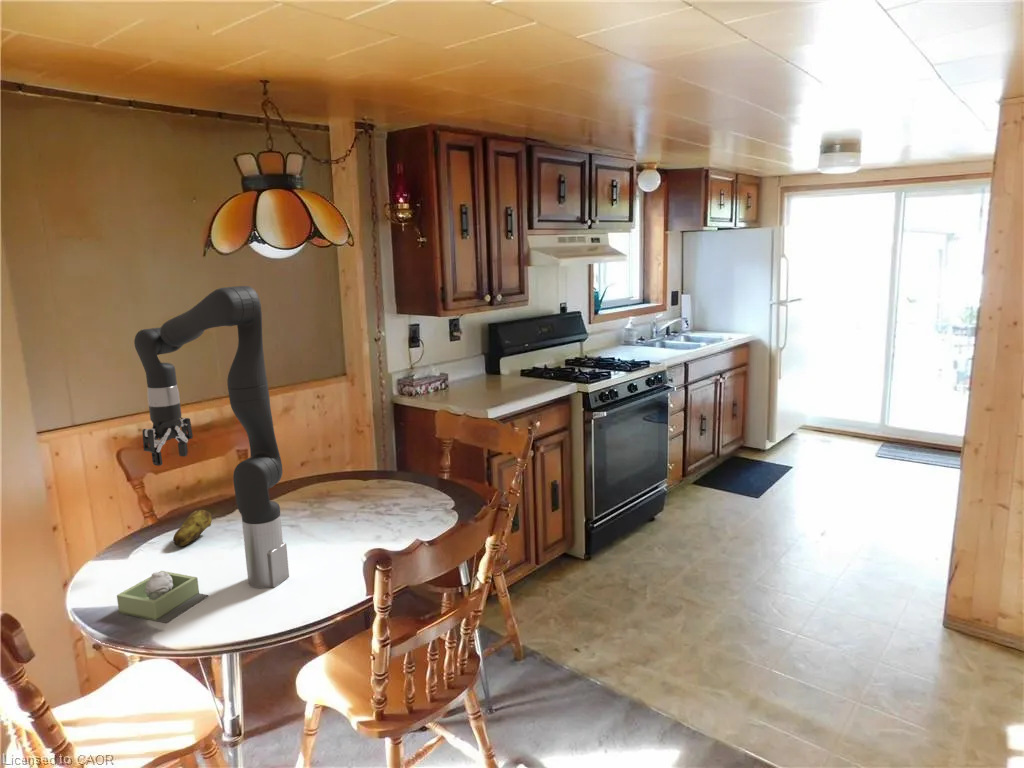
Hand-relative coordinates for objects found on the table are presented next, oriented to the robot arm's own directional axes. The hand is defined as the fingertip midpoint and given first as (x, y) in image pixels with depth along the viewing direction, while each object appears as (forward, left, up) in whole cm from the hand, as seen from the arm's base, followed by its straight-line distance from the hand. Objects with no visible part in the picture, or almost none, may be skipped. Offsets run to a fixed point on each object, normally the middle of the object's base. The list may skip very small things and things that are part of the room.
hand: (171, 460), depth 184 cm
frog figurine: (-15, +22, -28) cm, 38 cm away
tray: (-16, +22, -28) cm, 39 cm away
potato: (+6, -10, -28) cm, 31 cm away
